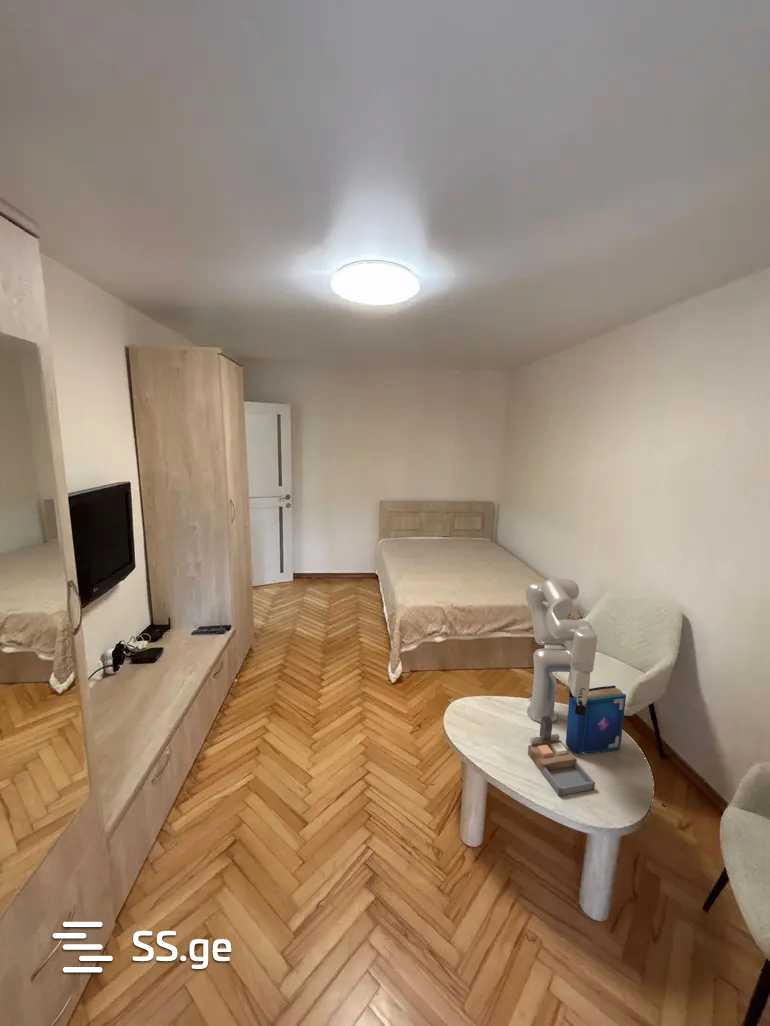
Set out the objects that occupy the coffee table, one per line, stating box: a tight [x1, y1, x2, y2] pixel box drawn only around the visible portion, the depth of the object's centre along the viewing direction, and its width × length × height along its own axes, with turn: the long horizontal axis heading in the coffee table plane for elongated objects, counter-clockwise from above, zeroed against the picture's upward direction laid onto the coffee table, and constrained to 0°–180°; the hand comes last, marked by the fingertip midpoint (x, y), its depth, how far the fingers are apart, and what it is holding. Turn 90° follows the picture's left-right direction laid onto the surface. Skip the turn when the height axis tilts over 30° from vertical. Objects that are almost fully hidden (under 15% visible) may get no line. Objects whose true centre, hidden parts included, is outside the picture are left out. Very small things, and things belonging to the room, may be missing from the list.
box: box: [542, 761, 596, 797], centre depth 152 cm, size 10×14×3 cm
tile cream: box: [551, 743, 567, 755], centre depth 162 cm, size 4×4×2 cm
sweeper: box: [529, 716, 561, 745], centre depth 165 cm, size 3×12×10 cm, turn 103°
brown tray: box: [527, 739, 578, 775], centre depth 161 cm, size 10×14×4 cm
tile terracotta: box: [537, 745, 553, 757], centre depth 160 cm, size 4×4×2 cm
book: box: [565, 685, 627, 755], centre depth 167 cm, size 22×7×25 cm, turn 101°
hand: (576, 705), depth 154 cm, fingers open, 9 cm apart
